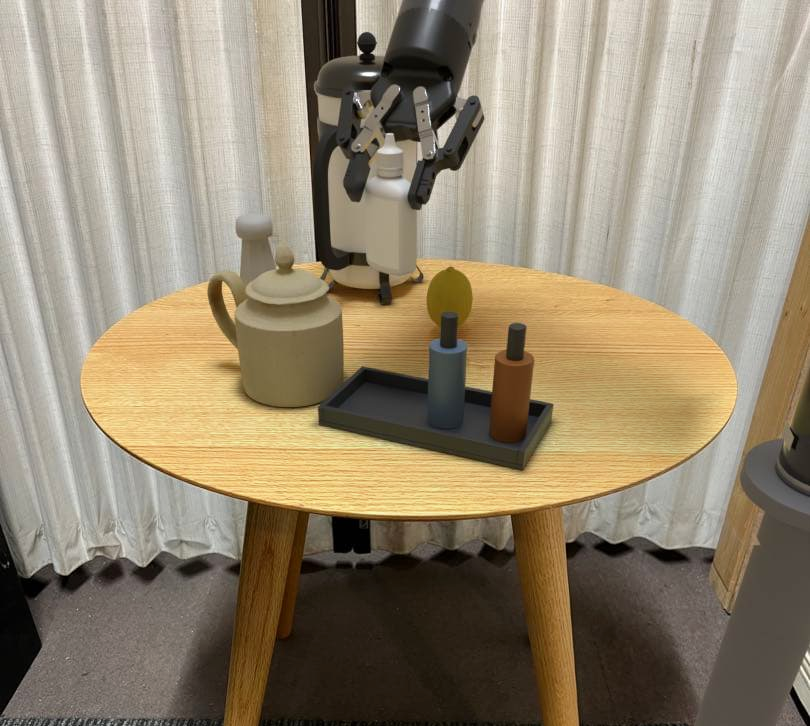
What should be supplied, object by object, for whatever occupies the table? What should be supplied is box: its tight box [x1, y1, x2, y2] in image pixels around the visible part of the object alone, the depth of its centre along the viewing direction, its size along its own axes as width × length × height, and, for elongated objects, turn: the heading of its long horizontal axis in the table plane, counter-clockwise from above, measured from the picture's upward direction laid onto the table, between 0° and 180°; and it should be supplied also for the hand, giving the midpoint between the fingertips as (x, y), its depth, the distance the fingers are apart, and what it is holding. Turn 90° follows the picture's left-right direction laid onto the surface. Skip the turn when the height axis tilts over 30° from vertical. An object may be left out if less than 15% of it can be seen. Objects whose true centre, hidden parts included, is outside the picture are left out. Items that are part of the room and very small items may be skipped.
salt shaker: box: [234, 212, 277, 286], centre depth 99 cm, size 6×6×13 cm
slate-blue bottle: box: [427, 311, 468, 429], centre depth 79 cm, size 4×4×11 cm
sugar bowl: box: [207, 244, 345, 408], centre depth 85 cm, size 15×11×15 cm
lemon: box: [426, 266, 474, 328], centre depth 99 cm, size 6×6×8 cm
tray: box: [317, 366, 555, 471], centre depth 82 cm, size 21×10×2 cm, turn 67°
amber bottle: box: [489, 322, 535, 443], centre depth 77 cm, size 4×4×11 cm
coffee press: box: [312, 31, 425, 305], centre depth 104 cm, size 17×16×30 cm
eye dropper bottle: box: [365, 133, 418, 276], centre depth 77 cm, size 4×6×12 cm
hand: (382, 200), depth 75 cm, fingers closed on eye dropper bottle, 5 cm apart
